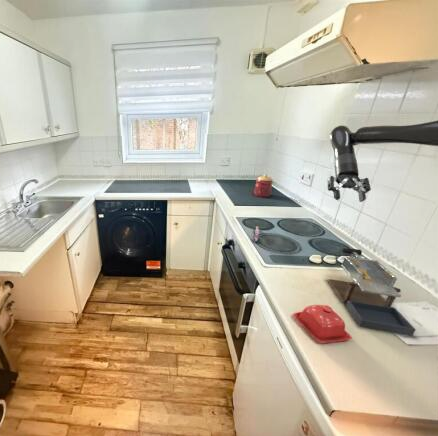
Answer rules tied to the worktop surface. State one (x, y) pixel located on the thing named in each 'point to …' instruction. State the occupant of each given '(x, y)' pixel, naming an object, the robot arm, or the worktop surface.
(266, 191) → the kitchen canister
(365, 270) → the key
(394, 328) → the tray
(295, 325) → the worktop surface
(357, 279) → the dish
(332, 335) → the butter dish
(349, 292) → the stand
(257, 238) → the decorative key
